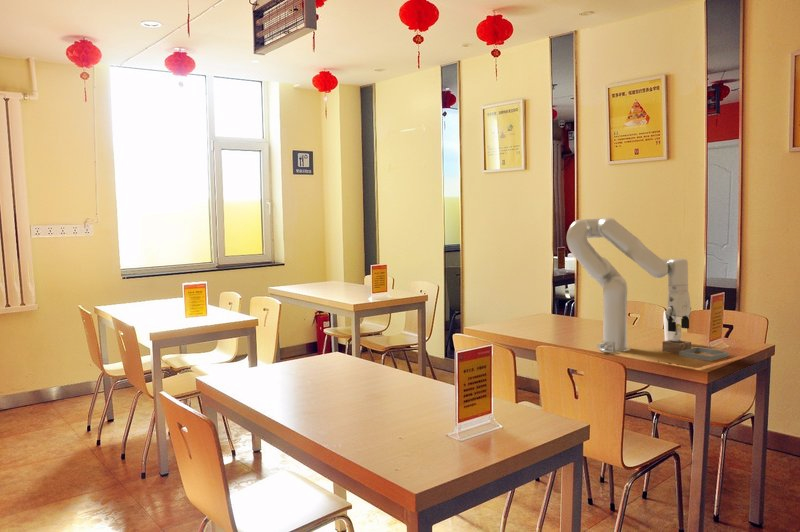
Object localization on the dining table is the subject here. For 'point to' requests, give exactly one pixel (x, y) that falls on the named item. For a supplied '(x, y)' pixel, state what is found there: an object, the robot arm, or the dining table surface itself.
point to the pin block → (675, 346)
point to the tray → (691, 351)
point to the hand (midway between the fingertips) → (678, 329)
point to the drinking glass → (667, 333)
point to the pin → (677, 334)
